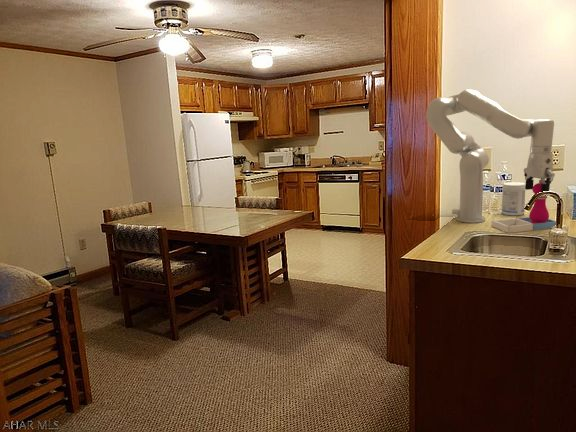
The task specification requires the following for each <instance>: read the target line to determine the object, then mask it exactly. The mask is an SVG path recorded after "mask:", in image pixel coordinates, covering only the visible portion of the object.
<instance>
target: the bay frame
mask: <svg viewBox="0 0 576 432" xmlns="http://www.w3.org/2000/svg"><path fill="white" fill-rule="evenodd" d="M531 221H532V220H531V219H530V217H529V216H524V217H516V218H515V217H514V218H503V219H493V220H491V221H490V222H491V224H490V226H491V227H493V228H495V229H498V230H500V231H502V230H503V232H505V233H507V234H508V233H517V232H519V233H520V232H529V231H538V230H539V229H540V230H548V229H549V230H550V228H551V227H553V226H555V225H556V221H557V220H554V219H551V218H549V219H548V220H547V221H546V222H547V223H536V224H533V223H530V222H531ZM551 229H552V228H551Z"/></svg>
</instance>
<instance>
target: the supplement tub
mask: <svg viewBox="0 0 576 432" xmlns="http://www.w3.org/2000/svg"><path fill="white" fill-rule="evenodd" d="M525 185H526V182H519V181H511V182H510V181H509V182H504V183H503V184H502V201H501V203H502V205H501V213H502V214H503V215H505V216H514V217H515V216H522V215H524V213H525V209H526V208H525V206H526V205H525V204H526V203H525V202H526V189H525ZM524 208H525V209H524Z"/></svg>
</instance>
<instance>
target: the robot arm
mask: <svg viewBox="0 0 576 432" xmlns="http://www.w3.org/2000/svg"><path fill="white" fill-rule="evenodd" d="M464 112H468V113H469V114H471V115H472V116H475V117H477V118H479V119H480V120H482V121H484V122H485V123H487V124H488V125H490V126H491V127H493V128H495V129H497V130H498V131H500V132H501V133H503V134H505V135H507V136H508V137H510V138H513V139H517V140H518V139H523V138H527V137H531V138H530V149H529V155H528V158H527V159H528V160H527V166H526V167H524V169H523V173H524V177H525V178H524V179H525V180H524V181H525V191H527V190H528V191H529V190H532V189H533V186H534V178H536V179H539V180H542V182H543V184H542V185H541V192H543V191H549V192H550V186H551V184H552V182H553V181H554V178H555V176H556V174H555V173H554V172H553V167H554V160H553V159H554V158H553V153H552V147H553V146H552V145H553V139H554V138H553V137H554V127H555V121H554V120H553V119H552V118H551V119H549V118H547V119H545V118H543V119H526V118H525V119H524V118H518V117H517V116H515V115H513V114H511V113H509V112H508V111H506V110H505V109H503V108H502V106H500V104H499V103H498V102H496V101H495V100H492V99H490V98H488V97H486V96H484V95H482V94H481V92H480V91H478V90H476V89H470V88H469V89H467V88H466V89H464V90H462V91H461V92H460V93H458V94H455V95H451V96H442V97H441V96H439V97H436V98H434V99H433V100H431V101H430V103H429V104H428V106H427V109H426V112H425V114H426V115H425V117H426V122H427V123H428V125H429V127H430V128H431V130H432V131H433V132H434V133H435V134H436V136H437V137H438V138H439V140H440V141H441V142H442V144H443V145H445V147H446V148H447V149H448V151H449V152H450V153H452V154H454V155H460V156H461V158H460V160H459V164H458V165H459V175H460V179H459V180H460V183H459V187H460V190H459V209H455V208H453V209H452V211H451V213H452V214H453V215H456V216H455V220H456V221H458V222H461V223H468V224H469V223H470V224H477V223H478V224H479V223H484V222H485V221H486V217H485V215H484V216H483V201H484V200H483V196H484V172H483V169H484V168H486V167H488V164H489V155H488V153H487V152H486V150H485V149H484V148H483V147H482V146H481V145H480V144H479V142H478V141H477V139H475V137H473V136H472V135H471V134H470V133H468V132H466V131H460V130H459V129H458V128H457V126H456V125H455V124H454V123H453V122H452V121H451V120H450V118H448V116H452V115H455V114H460V113H464Z"/></svg>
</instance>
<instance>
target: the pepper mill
mask: <svg viewBox="0 0 576 432" xmlns="http://www.w3.org/2000/svg"><path fill="white" fill-rule="evenodd" d="M542 184H543V182H542V180H541V179H539V181H538V182H537V183H535V184H533V189H531V190H532V193H534V194H533V196H534V195H535V194H537V193H539V192H541V185H542ZM546 195H547V194H546ZM546 195H545V196H541V197H539V198H538V199H537V200H536V201H535V200H534V201H535V203H534V202H533V206H532V208H531V210H530V212H529V215H528V217H530V219H531V220H532V221H531V222H530V223H533V224H536V223H547V222H546V221H547V220H548V219H550V213H549V211H548V208H547V205H546V202H547V199H548V195H547V196H546Z"/></svg>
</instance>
